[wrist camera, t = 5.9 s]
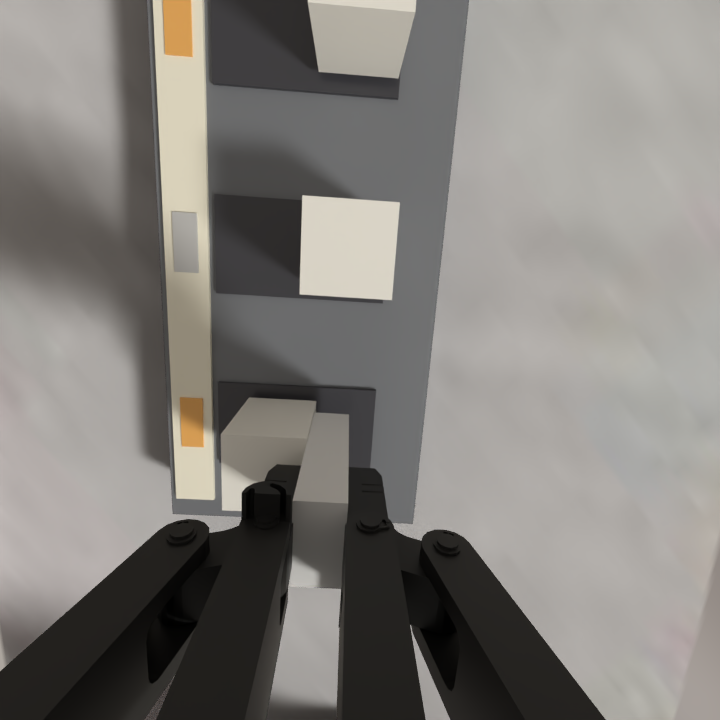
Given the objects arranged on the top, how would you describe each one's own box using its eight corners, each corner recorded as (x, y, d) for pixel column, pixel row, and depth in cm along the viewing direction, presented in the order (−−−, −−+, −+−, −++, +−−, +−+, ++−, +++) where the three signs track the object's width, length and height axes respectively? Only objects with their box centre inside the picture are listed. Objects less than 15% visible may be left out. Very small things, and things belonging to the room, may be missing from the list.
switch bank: (404, 491, 23) (413, 527, 20) (195, 481, 22) (170, 517, 19) (458, -49, 17) (483, -121, 14) (176, -77, 17) (135, -158, 13)
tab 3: (382, 292, 17) (391, 300, 13) (311, 288, 17) (299, 294, 13) (387, 217, 16) (399, 202, 12) (313, 212, 16) (302, 194, 12)
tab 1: (313, 461, 18) (304, 513, 15) (249, 458, 18) (222, 510, 14) (316, 400, 18) (306, 438, 14) (249, 397, 18) (220, 434, 14)
